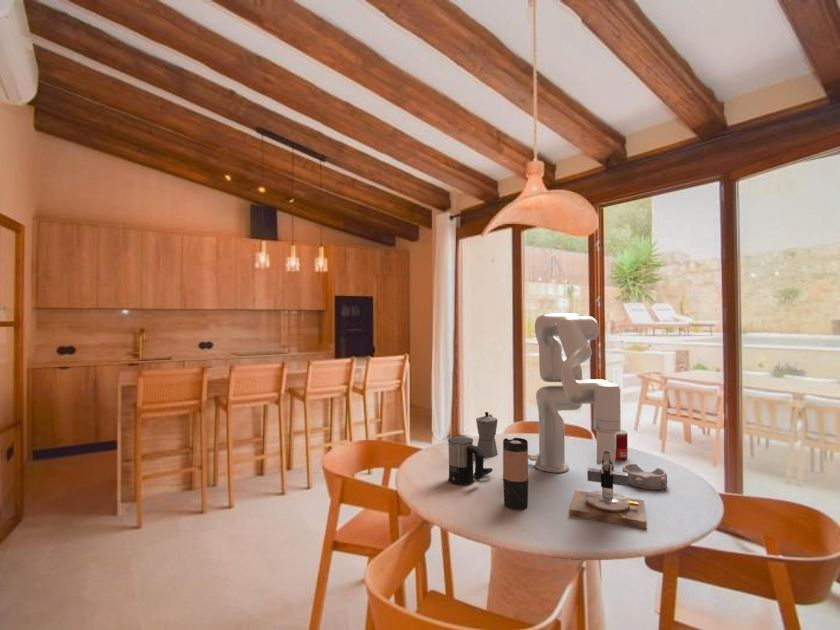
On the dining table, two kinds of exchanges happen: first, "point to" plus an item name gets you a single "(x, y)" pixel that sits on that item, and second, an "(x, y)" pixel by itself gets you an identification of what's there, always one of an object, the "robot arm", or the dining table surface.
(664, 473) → the dish
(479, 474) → the milk frother
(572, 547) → the dining table surface
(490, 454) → the coffeepot
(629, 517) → the dial stand
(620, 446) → the canned food
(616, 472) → the door handle
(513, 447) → the travel mug
